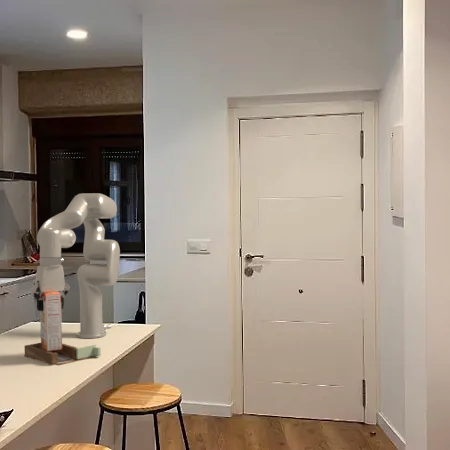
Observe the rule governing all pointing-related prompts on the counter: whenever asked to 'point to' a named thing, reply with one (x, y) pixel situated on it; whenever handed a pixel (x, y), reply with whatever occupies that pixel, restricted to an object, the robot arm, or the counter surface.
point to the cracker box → (51, 322)
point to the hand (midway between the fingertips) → (50, 309)
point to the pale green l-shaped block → (87, 351)
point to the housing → (52, 354)
